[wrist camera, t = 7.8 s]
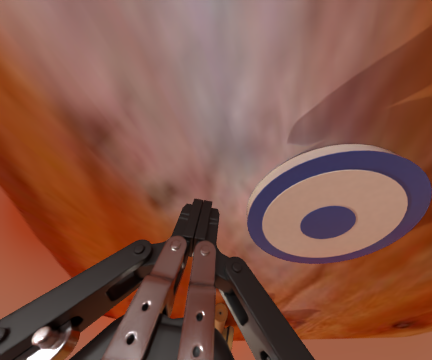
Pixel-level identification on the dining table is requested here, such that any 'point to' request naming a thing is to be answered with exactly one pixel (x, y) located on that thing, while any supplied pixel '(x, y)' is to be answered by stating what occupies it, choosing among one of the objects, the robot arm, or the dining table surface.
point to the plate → (337, 204)
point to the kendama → (223, 323)
